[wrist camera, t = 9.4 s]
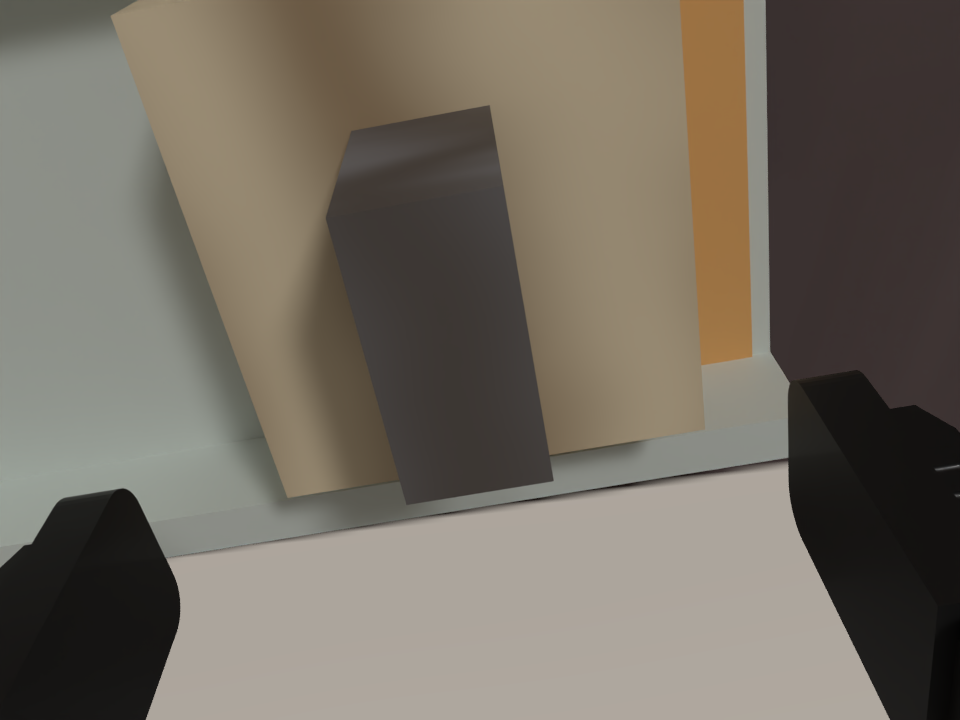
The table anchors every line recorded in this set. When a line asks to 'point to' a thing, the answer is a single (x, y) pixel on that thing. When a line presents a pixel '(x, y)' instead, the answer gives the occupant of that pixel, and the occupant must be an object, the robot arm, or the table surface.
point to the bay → (201, 332)
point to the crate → (435, 226)
